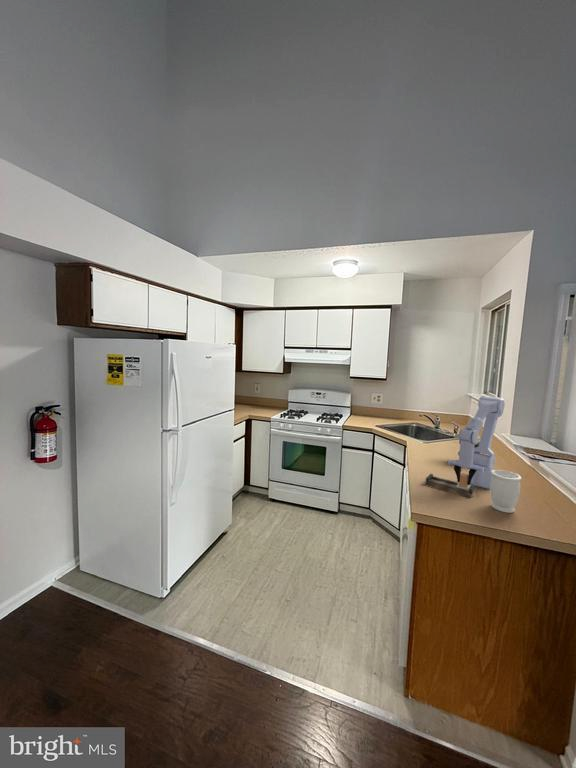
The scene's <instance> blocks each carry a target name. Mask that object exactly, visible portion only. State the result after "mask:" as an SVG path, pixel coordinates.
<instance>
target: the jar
mask: <svg viewBox="0 0 576 768" xmlns="http://www.w3.org/2000/svg"><path fill="white" fill-rule="evenodd" d="M492 475H493V476H492V479H491V483H490V489H489V490H490V498H491V501H492V502H491V505H490V506H491V507H492V508H493V509H495V510H496V511H499V512H502V513H507V514H508V513H509V514H511V513H515V512H516V509H515V507H516V505H517V504H518V501H519V498H520V493H521V482H520V481H522V476H521V475H520V474H518V473H516V472H512V471H510V470H503V469H493V471H492Z"/></svg>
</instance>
